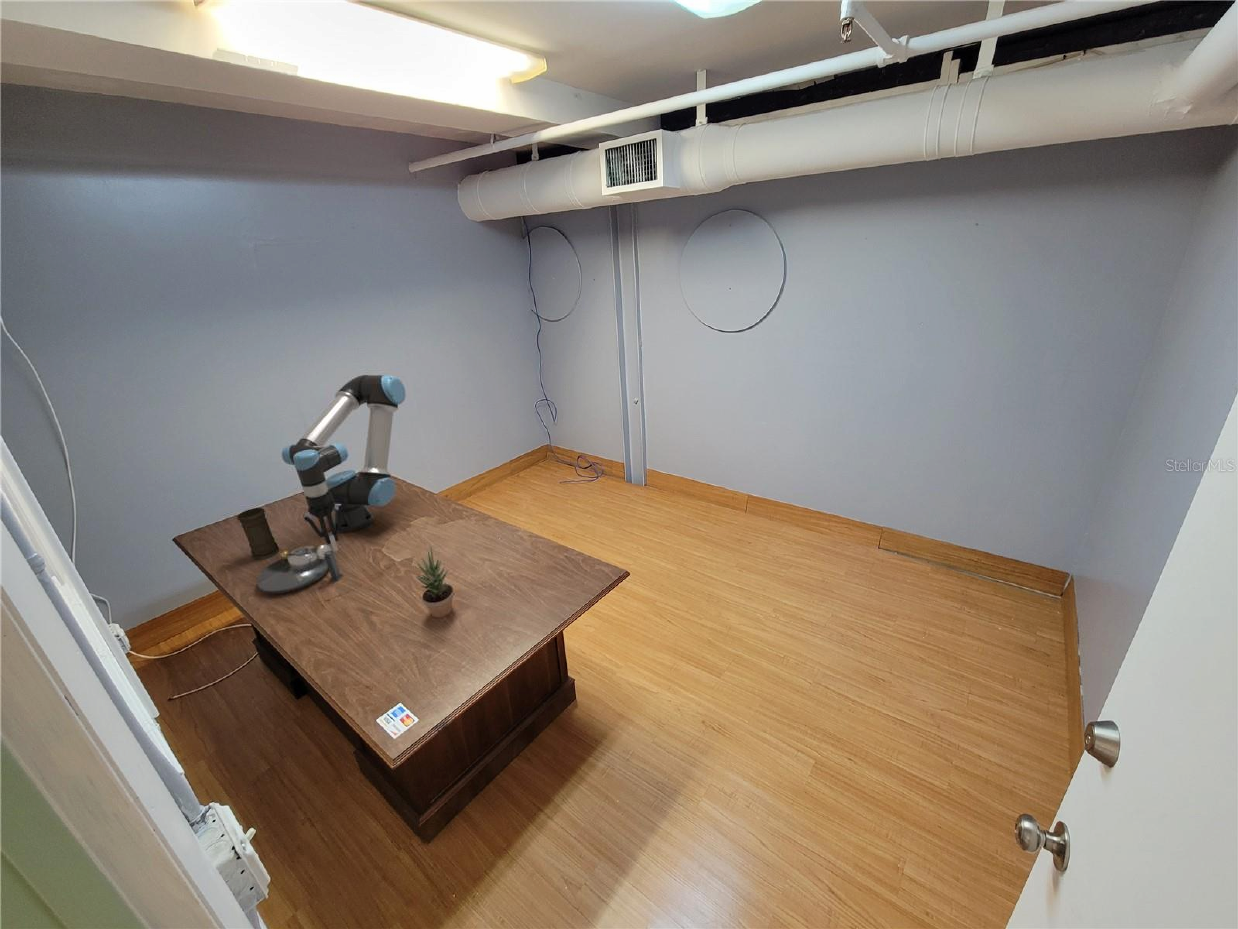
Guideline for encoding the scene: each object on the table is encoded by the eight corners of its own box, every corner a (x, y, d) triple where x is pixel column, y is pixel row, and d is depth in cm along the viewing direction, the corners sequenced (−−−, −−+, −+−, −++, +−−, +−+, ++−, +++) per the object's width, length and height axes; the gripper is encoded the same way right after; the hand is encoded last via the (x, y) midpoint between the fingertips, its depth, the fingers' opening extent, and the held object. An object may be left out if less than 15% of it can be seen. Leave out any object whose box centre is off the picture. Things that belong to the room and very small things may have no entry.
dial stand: (344, 574, 178) (334, 542, 173) (336, 582, 174) (325, 550, 168) (334, 573, 179) (324, 541, 173) (325, 582, 174) (314, 549, 169)
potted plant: (439, 625, 151) (423, 557, 141) (419, 615, 156) (402, 549, 146) (464, 606, 159) (451, 541, 149) (445, 597, 164) (430, 533, 154)
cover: (315, 554, 185) (311, 540, 183) (323, 564, 179) (318, 550, 177) (288, 565, 179) (283, 551, 177) (295, 575, 173) (289, 560, 171)
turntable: (319, 549, 192) (315, 538, 190) (337, 572, 177) (334, 561, 175) (252, 575, 178) (247, 563, 176) (266, 602, 163) (261, 590, 161)
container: (266, 560, 188) (250, 519, 181) (246, 558, 190) (230, 518, 183) (285, 547, 196) (270, 507, 189) (266, 546, 198) (251, 506, 191)
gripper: (333, 484, 182) (350, 539, 191) (293, 496, 174) (312, 553, 183) (340, 489, 177) (356, 546, 186) (299, 502, 169) (318, 560, 178)
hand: (334, 549), depth 185 cm, fingers closed
